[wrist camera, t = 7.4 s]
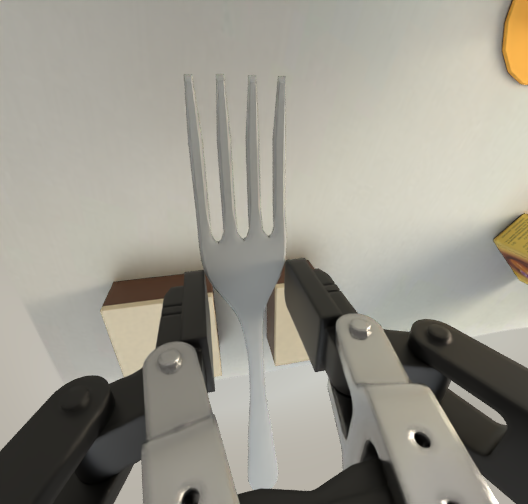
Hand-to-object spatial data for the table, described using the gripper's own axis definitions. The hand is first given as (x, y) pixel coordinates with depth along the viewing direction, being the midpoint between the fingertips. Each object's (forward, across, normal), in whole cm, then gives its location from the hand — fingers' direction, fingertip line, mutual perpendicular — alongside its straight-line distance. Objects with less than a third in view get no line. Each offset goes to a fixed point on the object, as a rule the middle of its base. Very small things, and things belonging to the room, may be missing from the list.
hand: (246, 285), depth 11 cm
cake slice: (+12, -5, +11) cm, 18 cm away
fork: (0, 0, +5) cm, 5 cm away
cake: (+13, +6, +11) cm, 18 cm away
